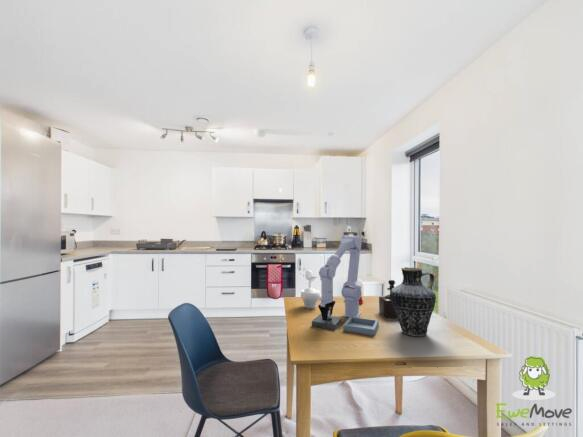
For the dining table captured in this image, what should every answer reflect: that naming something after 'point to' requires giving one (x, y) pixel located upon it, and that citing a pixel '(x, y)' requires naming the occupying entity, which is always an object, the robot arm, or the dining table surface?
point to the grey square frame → (327, 322)
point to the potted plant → (310, 292)
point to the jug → (413, 301)
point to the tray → (361, 326)
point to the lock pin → (328, 315)
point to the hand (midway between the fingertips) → (327, 317)
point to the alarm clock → (360, 301)
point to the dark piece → (387, 304)
